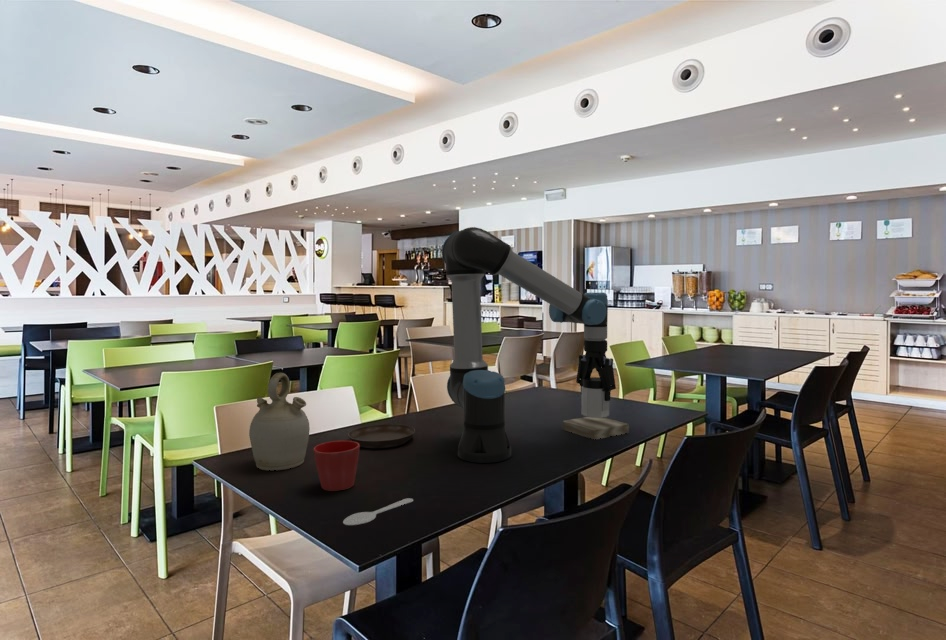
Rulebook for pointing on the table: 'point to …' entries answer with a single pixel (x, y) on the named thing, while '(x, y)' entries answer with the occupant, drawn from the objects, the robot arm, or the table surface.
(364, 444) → the plant saucer
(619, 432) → the base board
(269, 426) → the jug
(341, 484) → the flower pot
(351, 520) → the spoon
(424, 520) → the table surface
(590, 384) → the jar
